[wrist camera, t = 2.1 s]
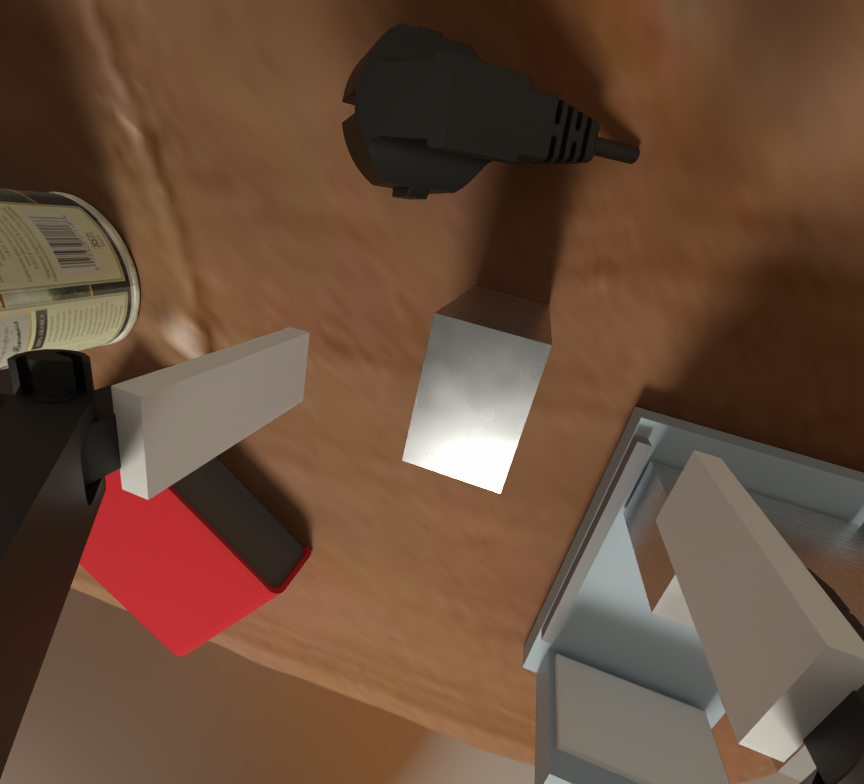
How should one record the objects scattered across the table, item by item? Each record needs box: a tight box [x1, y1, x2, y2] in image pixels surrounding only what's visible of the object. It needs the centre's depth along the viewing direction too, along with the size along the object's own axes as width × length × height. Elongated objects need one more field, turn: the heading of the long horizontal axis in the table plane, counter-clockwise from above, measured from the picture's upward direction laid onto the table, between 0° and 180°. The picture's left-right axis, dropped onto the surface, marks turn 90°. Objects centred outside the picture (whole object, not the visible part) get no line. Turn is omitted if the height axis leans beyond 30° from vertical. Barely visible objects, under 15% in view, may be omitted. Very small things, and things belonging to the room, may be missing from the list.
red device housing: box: [79, 457, 311, 656], centre depth 32 cm, size 18×14×5 cm
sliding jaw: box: [623, 461, 864, 781], centre depth 15 cm, size 10×4×12 cm, turn 77°
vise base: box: [523, 407, 864, 784], centre depth 21 cm, size 12×20×8 cm, turn 167°
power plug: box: [342, 23, 640, 199], centre depth 18 cm, size 6×8×12 cm
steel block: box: [402, 286, 552, 493], centre depth 19 cm, size 4×6×9 cm, turn 167°
